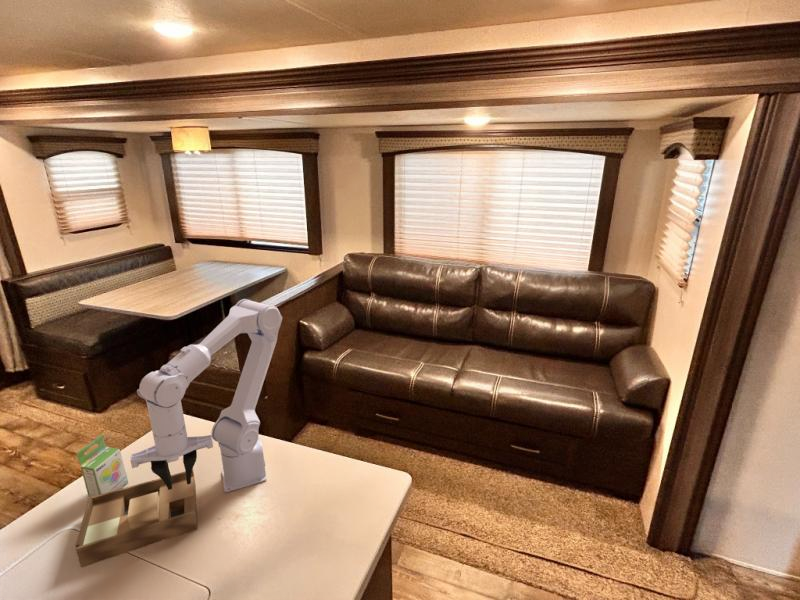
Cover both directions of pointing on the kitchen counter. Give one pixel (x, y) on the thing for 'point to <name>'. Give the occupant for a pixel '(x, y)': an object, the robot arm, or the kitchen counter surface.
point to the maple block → (144, 510)
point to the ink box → (102, 468)
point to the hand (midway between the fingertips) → (179, 483)
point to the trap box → (110, 527)
